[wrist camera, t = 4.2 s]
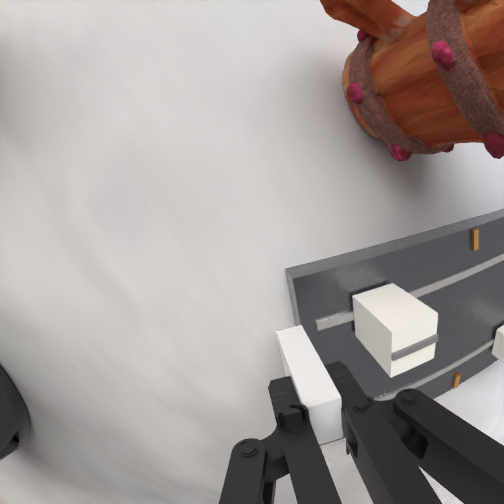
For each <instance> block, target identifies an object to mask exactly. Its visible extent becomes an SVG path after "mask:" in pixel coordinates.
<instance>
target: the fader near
mask: <svg viewBox="0 0 504 504" xmlns="http://www.w3.org/2000/svg"><path fill="white" fill-rule="evenodd" d="M352 298H353V309H354V322H355V336H356V337H357V338H358V339H359V341H360V342H361V343H362V344H363V345H364V347H365V348H366V349H367V350H368V351H369V352H370V354H371V355H372V356H373V357H374V358H375V360H376V361H377V362H378V363H379V364H380V366H381V367H382V368H383V369H384V370H385V372H386V373H387V374H388V375H389V377H390V378H391V377H393V376H396V375H398V374H400V373H403V372H405V371H407V370H410V369H412V368H414V367H416V366H418V365H420V364H423V363H425V362H427V361H429V360H431V359H433V358H434V353H435V344H436V342H437V341H438V336H439V335H438V334H437V322H438V313H437V312H436V311H434V310H433V309H431V308H430V307H428V306H427V305H425V304H424V303H422V302H421V301H419V300H418V299H416V298H415V297H413V296H412V295H410V294H409V293H407V292H406V291H404V290H403V289H401V288H400V287H398V286H396V285H395V284H393V283H391V284H388V285H385V286H382V287H379V288H375V289H372V290H369V291H366V292H363V293H360V294H356V295H353V296H352Z"/></svg>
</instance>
